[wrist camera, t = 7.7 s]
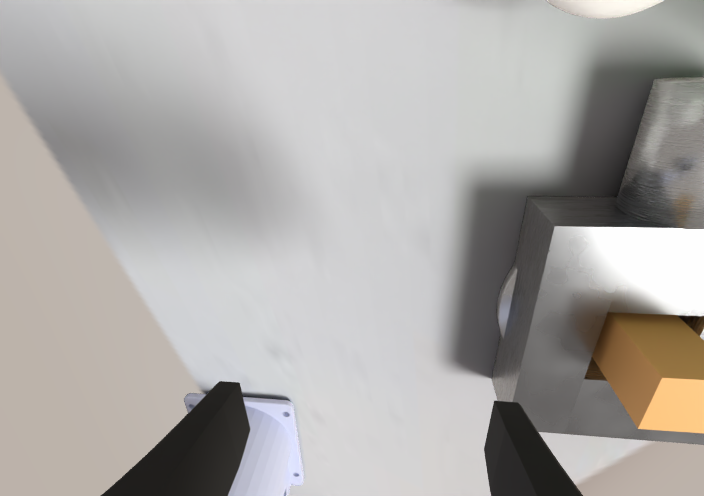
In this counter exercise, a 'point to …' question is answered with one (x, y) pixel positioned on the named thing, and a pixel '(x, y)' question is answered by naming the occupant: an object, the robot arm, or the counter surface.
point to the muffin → (603, 7)
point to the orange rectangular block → (654, 369)
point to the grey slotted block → (606, 273)
